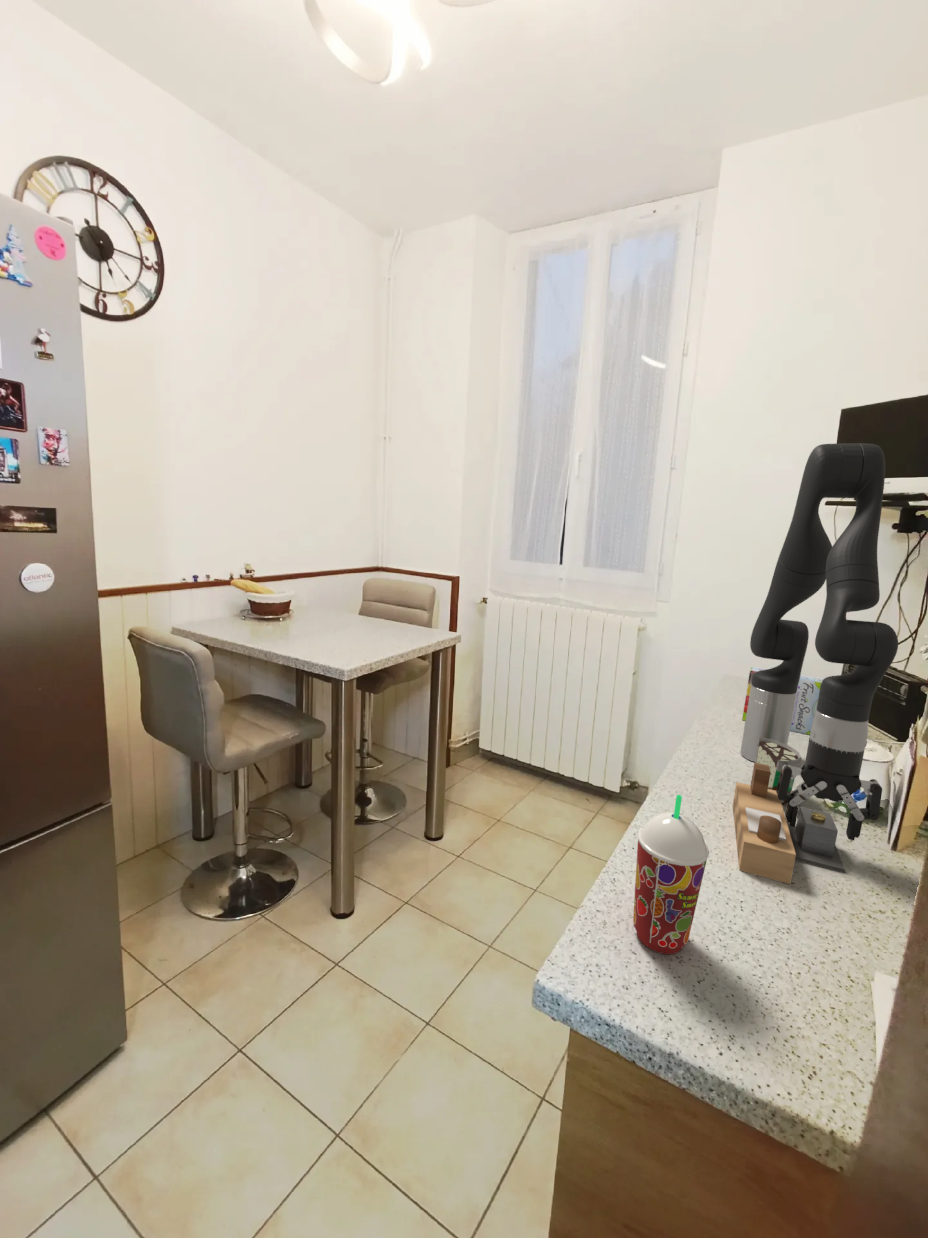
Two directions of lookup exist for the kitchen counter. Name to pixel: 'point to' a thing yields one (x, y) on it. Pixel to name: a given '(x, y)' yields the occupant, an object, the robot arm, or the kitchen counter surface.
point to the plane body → (762, 829)
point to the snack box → (797, 702)
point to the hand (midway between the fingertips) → (820, 830)
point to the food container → (777, 760)
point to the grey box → (816, 832)
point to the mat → (814, 859)
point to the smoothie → (668, 880)
